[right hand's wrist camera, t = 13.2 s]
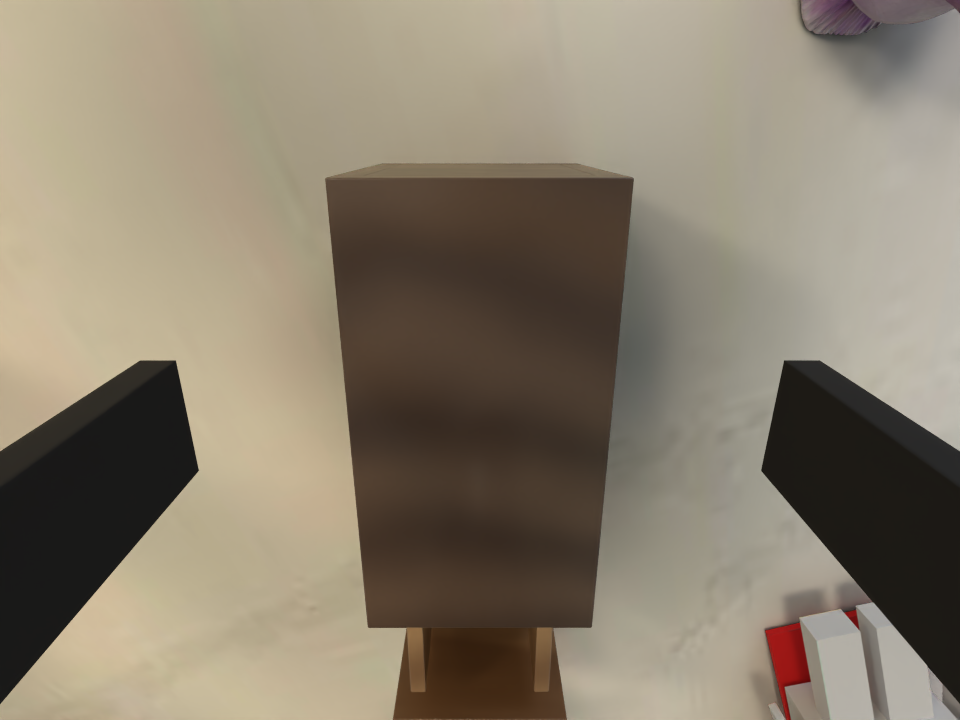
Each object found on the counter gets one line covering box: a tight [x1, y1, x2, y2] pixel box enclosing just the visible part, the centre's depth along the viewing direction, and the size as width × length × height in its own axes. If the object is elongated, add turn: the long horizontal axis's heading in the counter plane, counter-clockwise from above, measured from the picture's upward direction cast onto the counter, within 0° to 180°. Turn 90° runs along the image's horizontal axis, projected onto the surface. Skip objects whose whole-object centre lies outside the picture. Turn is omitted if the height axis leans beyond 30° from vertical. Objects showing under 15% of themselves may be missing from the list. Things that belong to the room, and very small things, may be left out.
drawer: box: [393, 628, 567, 720], centre depth 33 cm, size 24×9×10 cm, turn 0°
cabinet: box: [325, 164, 634, 628], centre depth 28 cm, size 20×10×12 cm, turn 0°
